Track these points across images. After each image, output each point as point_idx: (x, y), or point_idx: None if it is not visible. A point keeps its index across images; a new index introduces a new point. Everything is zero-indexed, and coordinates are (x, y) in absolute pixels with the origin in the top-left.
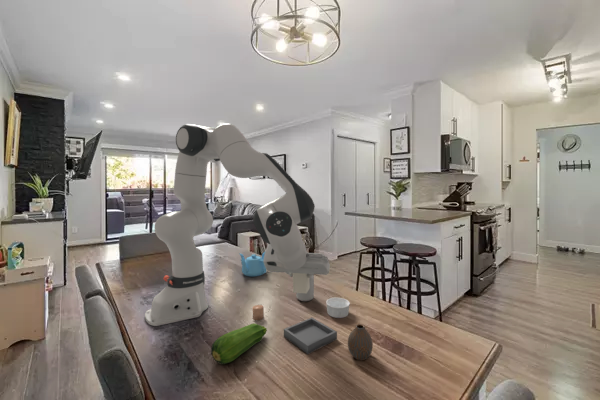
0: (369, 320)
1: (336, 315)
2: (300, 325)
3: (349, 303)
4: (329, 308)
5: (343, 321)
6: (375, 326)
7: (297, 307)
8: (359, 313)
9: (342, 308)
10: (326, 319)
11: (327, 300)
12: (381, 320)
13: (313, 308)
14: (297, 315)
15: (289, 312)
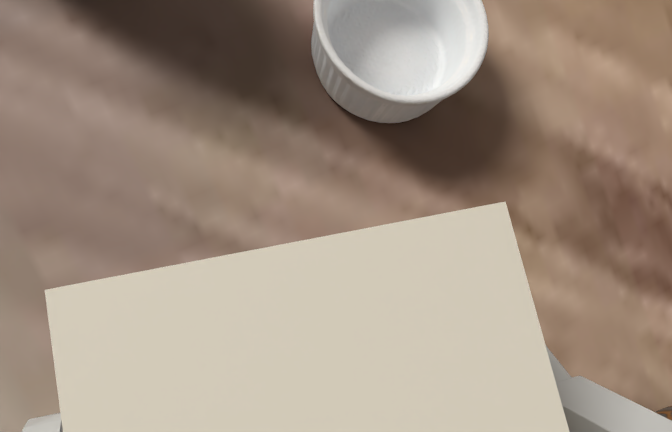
0: (576, 80)
1: (404, 118)
2: None
3: (482, 6)
4: (361, 95)
5: (452, 149)
6: (625, 134)
7: (71, 77)
8: (500, 18)
9: (461, 88)
10: (346, 166)
11: (320, 10)
12: (630, 57)
13: (199, 51)
14: (128, 194)
15: (43, 175)
